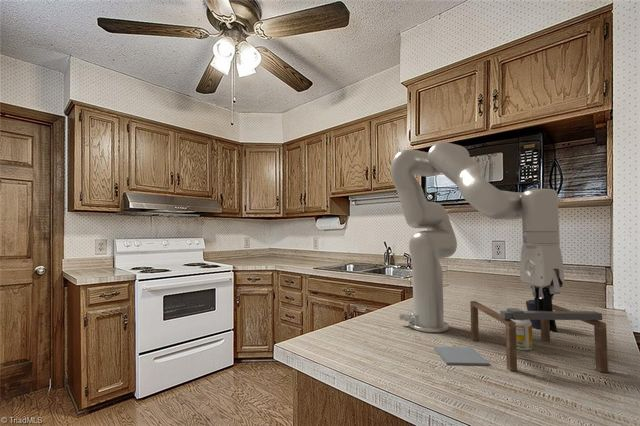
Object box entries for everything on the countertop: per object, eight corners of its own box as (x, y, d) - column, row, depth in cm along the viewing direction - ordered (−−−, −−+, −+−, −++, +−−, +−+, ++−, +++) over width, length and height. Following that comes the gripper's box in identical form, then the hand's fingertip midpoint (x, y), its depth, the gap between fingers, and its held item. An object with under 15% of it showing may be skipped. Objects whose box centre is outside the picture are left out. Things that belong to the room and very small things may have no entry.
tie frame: (510, 371, 73) (509, 322, 74) (471, 338, 94) (470, 301, 95) (608, 372, 72) (606, 323, 73) (546, 339, 93) (545, 301, 94)
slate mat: (446, 364, 77) (446, 362, 77) (434, 348, 87) (434, 346, 87) (489, 365, 76) (489, 363, 76) (471, 349, 86) (471, 347, 86)
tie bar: (505, 319, 75) (505, 311, 75) (499, 316, 77) (499, 308, 78) (603, 320, 74) (603, 311, 74) (593, 317, 76) (593, 308, 76)
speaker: (558, 327, 104) (553, 294, 105) (557, 332, 100) (552, 298, 100) (530, 324, 109) (526, 294, 109) (528, 330, 104) (523, 298, 105)
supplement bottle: (523, 343, 90) (522, 308, 91) (537, 350, 85) (536, 313, 86) (505, 343, 90) (504, 308, 91) (517, 351, 85) (516, 314, 85)
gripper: (508, 238, 87) (510, 306, 86) (545, 240, 72) (548, 323, 71) (537, 238, 86) (539, 307, 85) (579, 240, 71) (583, 323, 71)
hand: (543, 314), depth 78 cm, fingers closed
